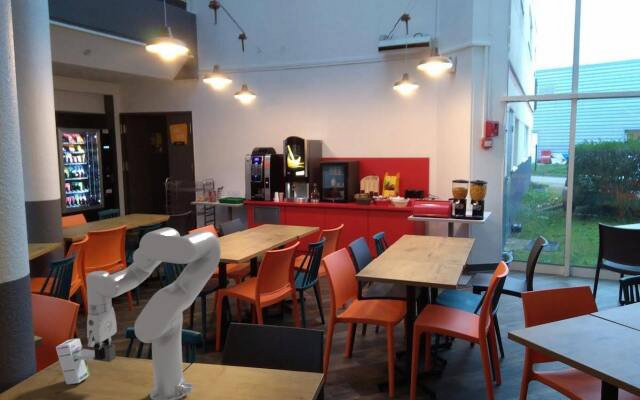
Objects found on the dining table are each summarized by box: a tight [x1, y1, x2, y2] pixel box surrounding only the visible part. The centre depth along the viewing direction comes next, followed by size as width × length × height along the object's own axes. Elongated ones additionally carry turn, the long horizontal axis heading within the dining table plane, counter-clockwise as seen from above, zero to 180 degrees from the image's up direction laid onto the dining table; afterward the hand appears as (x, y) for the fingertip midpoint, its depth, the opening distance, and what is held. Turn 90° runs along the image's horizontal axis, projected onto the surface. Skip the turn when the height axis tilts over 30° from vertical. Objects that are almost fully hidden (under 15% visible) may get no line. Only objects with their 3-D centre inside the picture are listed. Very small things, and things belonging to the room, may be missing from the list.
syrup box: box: [55, 338, 91, 385], centre depth 167 cm, size 6×6×14 cm
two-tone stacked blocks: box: [73, 342, 116, 363], centre depth 165 cm, size 14×5×5 cm, turn 77°
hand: (103, 356), depth 164 cm, fingers closed on two-tone stacked blocks, 2 cm apart
